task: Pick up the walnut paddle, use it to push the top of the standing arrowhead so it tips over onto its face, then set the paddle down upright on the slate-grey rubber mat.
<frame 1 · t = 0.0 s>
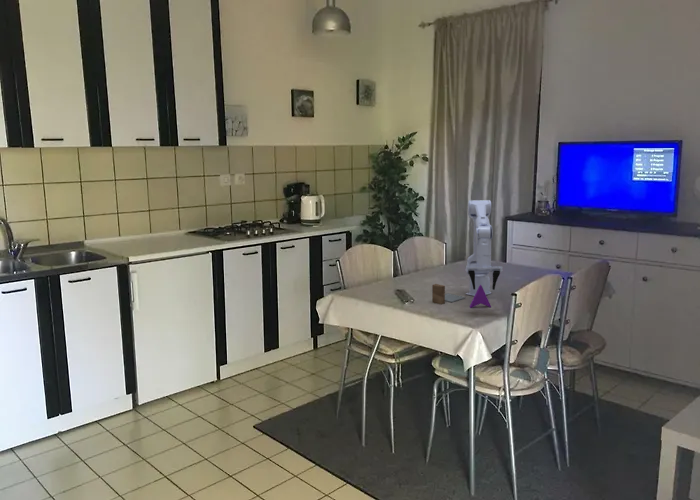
hand: (483, 289, 237), 11 cm above the table, tool pointing down, fingers open, 7 cm apart
rubber mat: (449, 298, 264), on the table
arrowhead: (480, 307, 249), on the table
walnut paddle: (438, 302, 257), on the table
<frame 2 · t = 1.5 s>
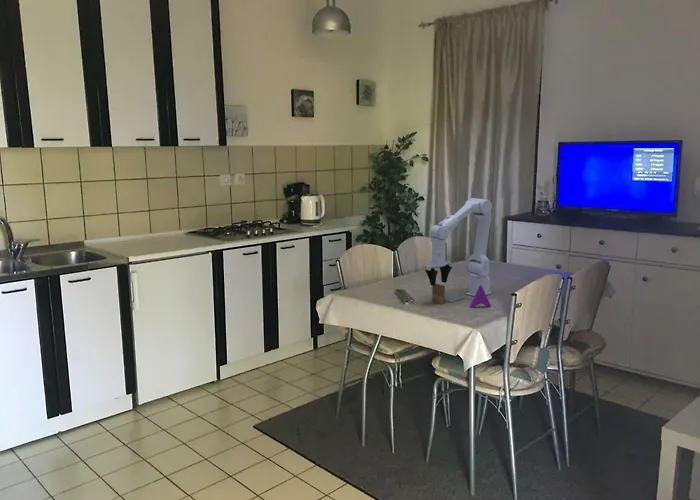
hand: (438, 283, 256), 9 cm above the table, tool pointing down, fingers open, 7 cm apart
nothing on the table moved.
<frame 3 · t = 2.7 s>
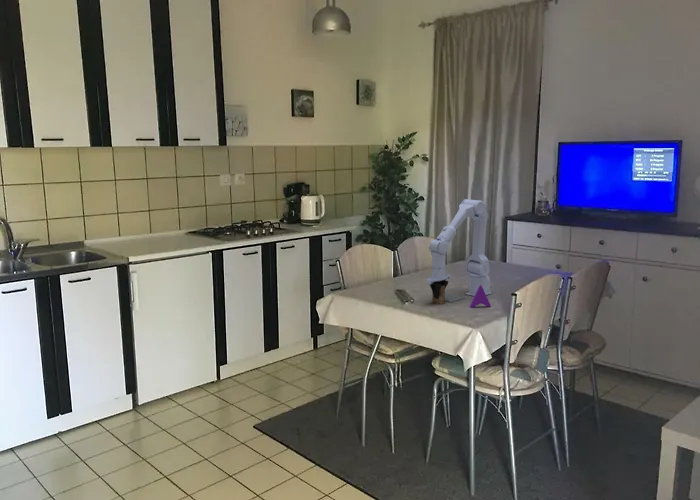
hand: (438, 297, 257), 2 cm above the table, tool pointing down, fingers closed on walnut paddle, 2 cm apart
walnut paddle: (438, 302, 257), on the table, touching gripper
everything else where it was.
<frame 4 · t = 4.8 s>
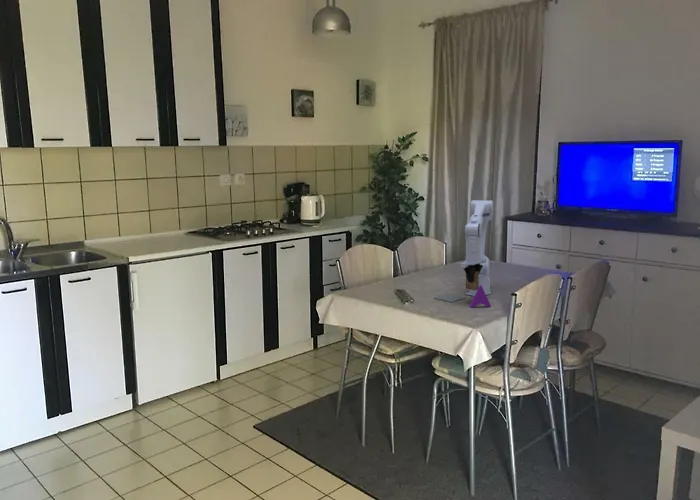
hand: (472, 281, 255), 9 cm above the table, tool pointing down, fingers closed on walnut paddle, 2 cm apart
walnut paddle: (472, 288, 255), point 6 cm above the table, touching gripper
everything else where it was.
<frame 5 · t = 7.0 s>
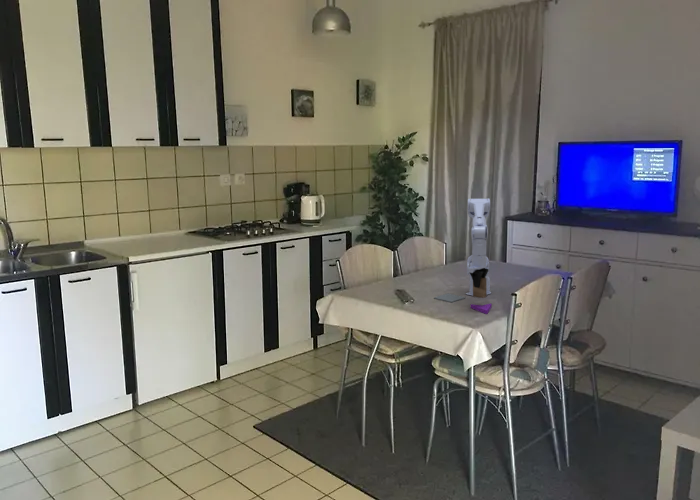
hand: (478, 286, 246), 9 cm above the table, tool pointing down, fingers closed on walnut paddle, 2 cm apart
arrowhead: (480, 305, 248), point 1 cm above the table
walnut paddle: (479, 296, 246), point 5 cm above the table, touching gripper
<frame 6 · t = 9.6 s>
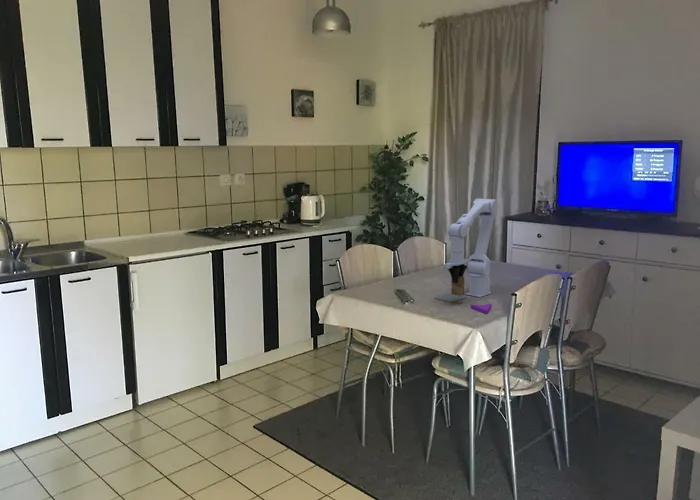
hand: (457, 282, 255), 9 cm above the table, tool pointing down, fingers closed on walnut paddle, 2 cm apart
walnut paddle: (457, 294, 255), point 4 cm above the table, touching gripper
everything else where it was.
when the fingers open (4 cm above the table, at t = 11.5 s): walnut paddle stays where it is, resting on rubber mat.
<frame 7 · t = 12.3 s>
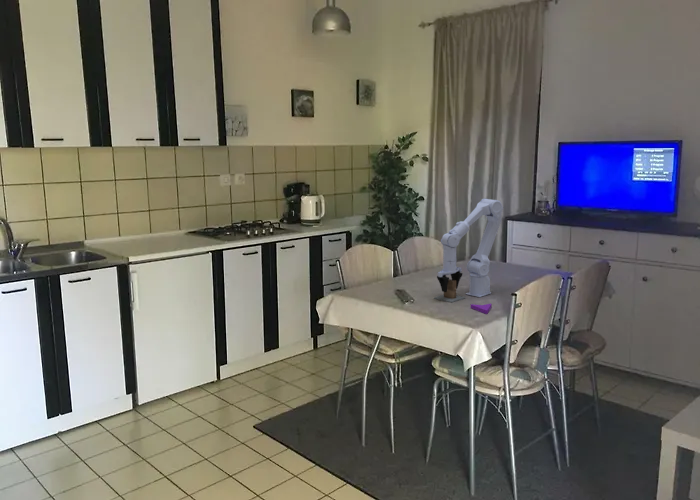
hand: (449, 290, 263), 4 cm above the table, tool pointing down, fingers open, 7 cm apart
walnut paddle: (449, 297, 264), resting on rubber mat
everything else where it was.
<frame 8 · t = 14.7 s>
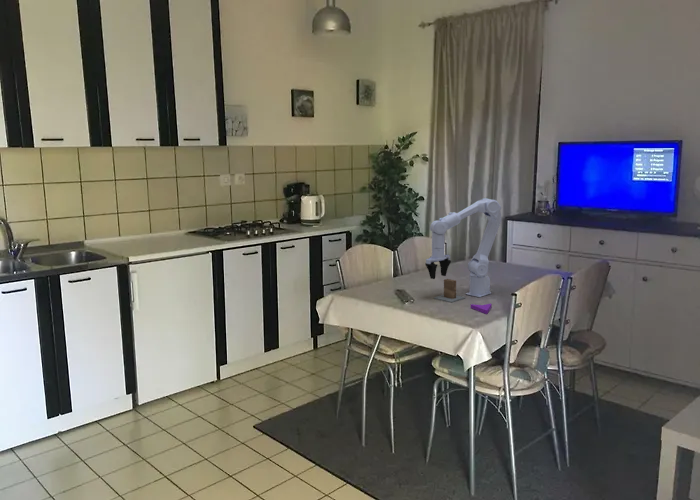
hand: (438, 277, 264), 9 cm above the table, tool pointing down, fingers open, 7 cm apart
nothing on the table moved.
at the end: arrowhead tilted 90°; walnut paddle inside the target area on the rubber mat (0.2 cm from its centre), point 0.5 cm above the rubber mat's base; walnut paddle tilted 0° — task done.
